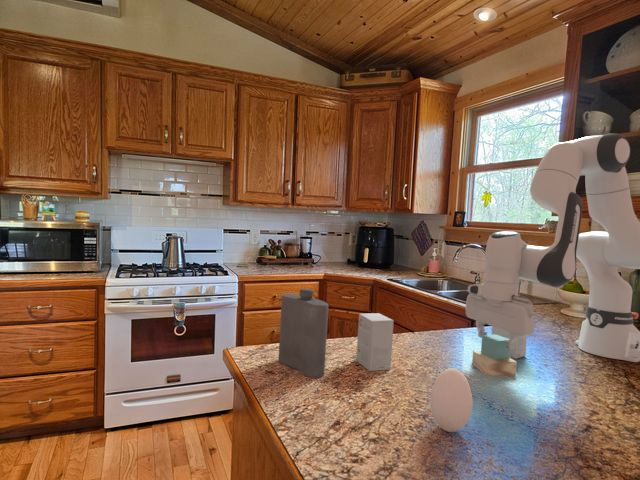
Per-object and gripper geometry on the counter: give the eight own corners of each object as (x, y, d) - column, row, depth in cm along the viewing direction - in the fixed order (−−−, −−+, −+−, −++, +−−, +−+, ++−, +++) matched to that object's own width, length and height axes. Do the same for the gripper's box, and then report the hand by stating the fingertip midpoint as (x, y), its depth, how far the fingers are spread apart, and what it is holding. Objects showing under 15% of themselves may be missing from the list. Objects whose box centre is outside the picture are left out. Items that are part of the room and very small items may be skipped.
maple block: (499, 365, 113) (500, 351, 113) (515, 376, 105) (516, 361, 105) (472, 364, 112) (473, 350, 112) (486, 376, 104) (487, 361, 104)
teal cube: (494, 351, 112) (495, 334, 112) (509, 358, 108) (510, 339, 107) (480, 353, 110) (482, 335, 110) (495, 360, 105) (497, 341, 105)
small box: (391, 369, 104) (394, 320, 103) (369, 371, 102) (372, 321, 101) (376, 358, 112) (379, 312, 111) (355, 360, 109) (358, 313, 109)
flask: (330, 374, 99) (335, 293, 98) (313, 380, 95) (318, 296, 93) (291, 356, 109) (295, 283, 108) (274, 361, 105) (278, 285, 104)
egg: (442, 416, 80) (446, 358, 80) (477, 432, 75) (482, 371, 74) (420, 427, 76) (425, 366, 75) (456, 446, 70) (461, 380, 69)
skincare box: (525, 356, 121) (530, 308, 120) (514, 359, 118) (518, 309, 117) (500, 348, 128) (504, 302, 127) (488, 350, 125) (492, 303, 124)
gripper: (543, 299, 99) (538, 354, 100) (480, 285, 118) (476, 331, 119) (524, 300, 97) (519, 357, 98) (463, 285, 116) (459, 332, 116)
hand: (495, 342), depth 108 cm, fingers open, 8 cm apart
